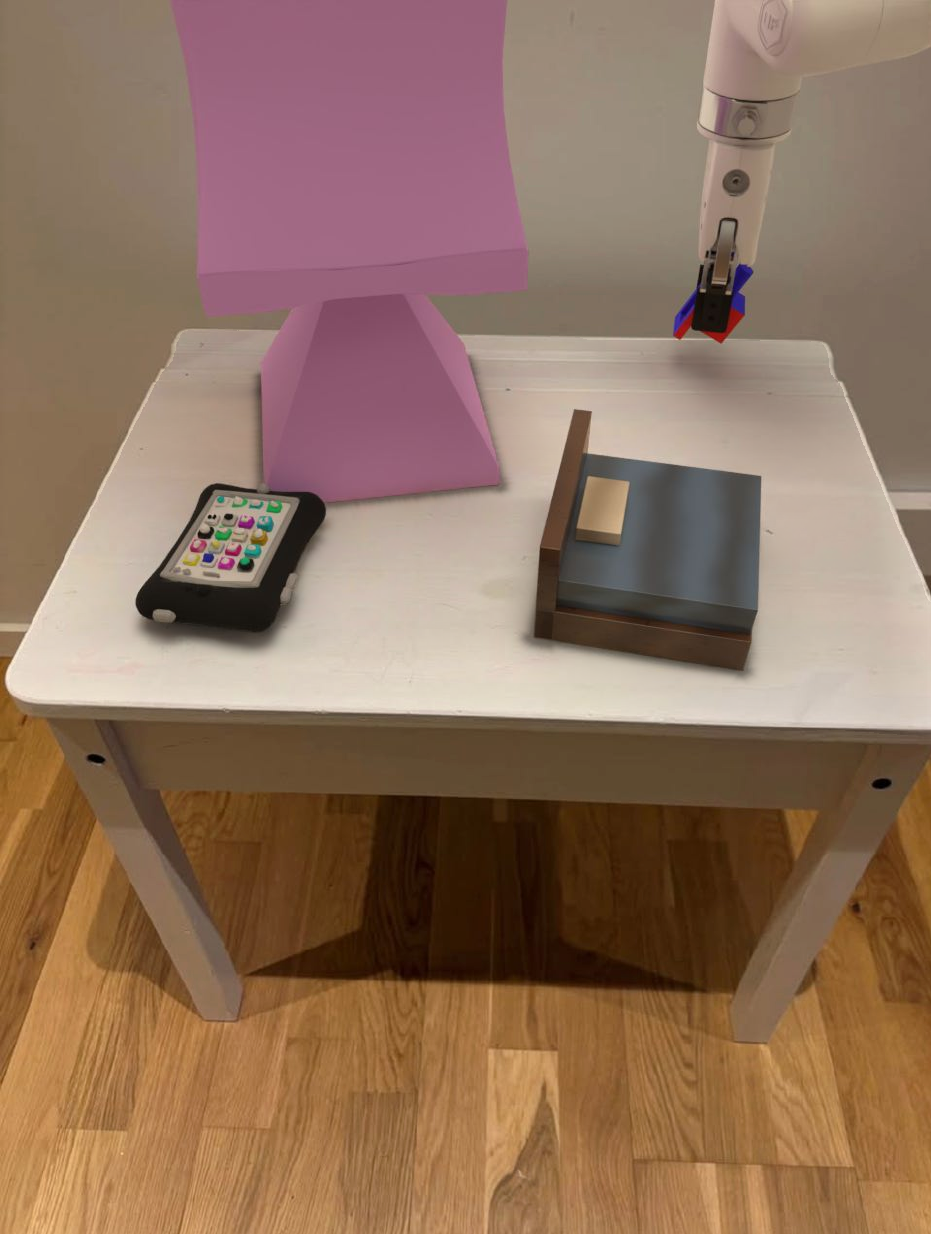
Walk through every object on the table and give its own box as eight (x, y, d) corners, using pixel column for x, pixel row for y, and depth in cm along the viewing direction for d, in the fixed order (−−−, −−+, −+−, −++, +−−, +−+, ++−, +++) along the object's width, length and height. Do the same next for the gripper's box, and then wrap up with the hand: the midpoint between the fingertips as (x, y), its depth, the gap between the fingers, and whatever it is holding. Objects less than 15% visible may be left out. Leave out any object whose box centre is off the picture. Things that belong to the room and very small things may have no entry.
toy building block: (709, 357, 94) (764, 291, 88) (672, 335, 93) (725, 266, 87) (710, 338, 96) (764, 272, 90) (674, 316, 95) (726, 248, 90)
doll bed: (748, 523, 81) (773, 433, 74) (742, 670, 70) (771, 580, 63) (566, 498, 83) (574, 408, 76) (533, 637, 72) (539, 547, 66)
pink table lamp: (518, 493, 83) (547, -190, 50) (250, 521, 81) (97, -174, 48) (475, 350, 98) (477, -248, 66) (249, 370, 96) (132, -238, 63)
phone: (333, 517, 81) (327, 474, 78) (278, 654, 71) (268, 612, 68) (209, 503, 83) (198, 461, 79) (137, 636, 72) (121, 594, 69)
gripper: (795, 153, 73) (748, 370, 86) (793, 78, 85) (752, 280, 98) (693, 146, 74) (661, 361, 88) (704, 73, 86) (675, 273, 99)
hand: (709, 316), depth 93 cm, fingers closed on toy building block, 3 cm apart
